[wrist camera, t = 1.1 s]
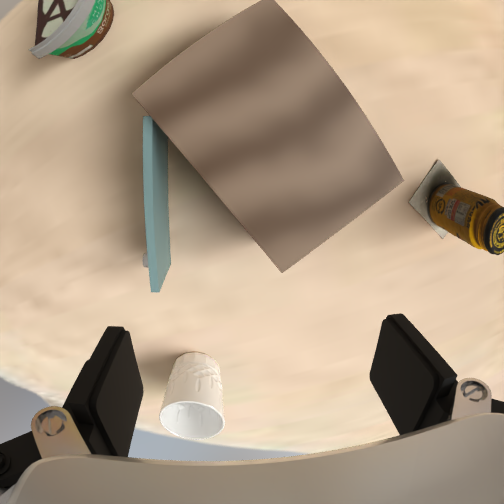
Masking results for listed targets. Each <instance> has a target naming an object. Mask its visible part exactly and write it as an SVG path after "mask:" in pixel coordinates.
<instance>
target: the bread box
mask: <svg viewBox="0 0 504 504" xmlns="http://www.w3.org/2000/svg"><path fill="white" fill-rule="evenodd" d="M132 95H133V96H134V97H135V99H136V100H137V101H138V102H139V103H140V104H141V106H142V107H143V108H144V109H145V110H146V111H147V113H148V114H149V115H150V116H151V117H152V118H153V120H154V121H155V122H156V123H157V124H158V126H159V127H160V128H161V129H162V130H163V131H164V133H165V134H166V135H167V136H168V137H169V139H170V140H171V141H172V142H173V143H174V144H175V146H176V147H177V148H178V149H179V150H180V152H181V153H182V154H183V155H184V156H185V157H186V159H187V160H188V161H189V162H190V163H191V165H192V166H193V167H194V168H195V169H196V171H197V172H198V173H199V174H200V175H201V177H202V178H203V179H204V180H205V181H206V182H207V184H208V185H209V186H210V187H211V188H212V190H213V191H214V192H215V193H216V194H217V196H218V197H219V198H220V199H221V200H222V202H223V203H224V204H225V205H226V206H227V208H228V209H229V210H230V211H231V212H232V214H233V215H234V216H235V217H236V218H237V220H238V221H239V222H240V223H241V224H242V226H243V227H244V228H245V229H246V230H247V232H248V233H249V234H250V235H251V236H252V238H253V239H254V240H255V241H256V242H257V244H258V245H259V246H260V247H261V249H262V250H263V251H264V252H265V253H266V255H267V256H268V257H269V258H270V259H271V261H272V262H273V263H274V264H275V265H276V267H277V268H278V269H279V270H280V272H281V273H283V272H284V271H286V270H287V269H288V268H290V267H291V266H292V265H294V264H295V263H296V262H298V261H299V260H301V259H302V258H303V257H305V256H306V255H307V254H309V253H310V252H311V251H313V250H314V249H315V248H317V247H318V246H319V245H321V244H322V243H323V242H325V241H326V240H327V239H329V238H330V237H331V236H333V235H334V234H335V233H337V232H338V231H339V230H341V229H342V228H343V227H345V226H346V225H347V224H349V223H350V222H351V221H353V220H354V219H355V218H357V217H358V216H359V215H360V214H362V213H363V212H364V211H366V210H367V209H368V208H370V207H371V206H372V205H373V204H375V203H376V202H377V201H379V200H380V199H381V198H382V197H384V196H385V195H386V194H388V193H389V192H390V191H391V190H393V189H394V188H395V187H396V186H398V185H399V184H400V183H402V182H403V181H404V180H403V178H402V176H401V174H400V172H399V171H398V169H397V167H396V165H395V163H394V162H393V160H392V158H391V156H390V155H389V153H388V151H387V149H386V148H385V146H384V144H383V143H382V141H381V139H380V138H379V136H378V134H377V133H376V131H375V130H374V128H373V126H372V125H371V123H370V122H369V120H368V119H367V117H366V115H365V114H364V112H363V111H362V109H361V108H360V106H359V105H358V103H357V102H356V101H355V99H354V98H353V96H352V95H351V93H350V92H349V90H348V89H347V88H346V86H345V85H344V83H343V82H342V81H341V79H340V78H339V77H338V75H337V74H336V73H335V71H334V70H333V69H332V67H331V66H330V65H329V63H328V62H327V61H326V59H325V58H324V57H323V56H322V54H321V53H320V52H319V51H318V49H317V48H316V47H315V46H314V44H313V43H312V42H311V41H310V40H309V38H308V37H307V36H306V35H305V34H304V33H303V31H302V30H301V29H300V28H299V27H298V26H297V24H296V23H295V22H294V21H293V20H292V19H291V18H290V17H289V16H288V14H287V13H286V12H285V11H284V10H283V9H282V8H281V7H280V6H279V5H278V4H277V3H276V2H275V1H274V0H261V1H259V2H257V3H256V4H254V5H252V6H250V7H249V8H247V9H245V10H244V11H242V12H240V13H239V14H237V15H235V16H234V17H232V18H231V19H229V20H227V21H226V22H224V23H223V24H221V25H220V26H218V27H217V28H215V29H214V30H212V31H211V32H209V33H208V34H206V35H205V36H203V37H202V38H201V39H199V40H198V41H196V42H195V43H193V44H192V45H191V46H189V47H188V48H187V49H185V50H184V51H183V52H181V53H180V54H179V55H177V56H176V57H175V58H173V59H172V60H171V61H170V62H168V63H167V64H166V65H165V66H163V67H162V68H161V69H160V70H158V71H157V72H156V73H155V74H154V75H152V76H151V77H150V78H149V79H148V80H147V81H145V82H144V83H143V84H142V85H141V86H140V87H139V88H137V89H136V90H135V91H134V92H133V93H132Z"/></svg>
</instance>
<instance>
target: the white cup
mask: <svg viewBox="0 0 504 504" xmlns="http://www.w3.org/2000/svg"><path fill="white" fill-rule="evenodd" d="M159 418H160V422H161V424H162V425H163V427H164V428H165V429H166V430H168V431H169V432H171V433H172V434H174V435H176V436H179V437H182V438H186V439H195V440H199V439H207V438H211V437H213V436H215V435H217V434H219V433H220V432H221V431H222V430H223V428H224V425H225V420H224V406H223V392H222V383H221V379H220V367H219V365H218V364H217V362H216V361H215V359H213V358H212V357H210V356H208V355H207V354H203V353H198V352H192V353H185V354H183V355H182V356H180V357H178V358H177V359H176V361H175V363H174V365H173V368H172V372H171V374H170V377H169V381H168V384H167V387H166V391H165V395H164V399H163V403H162V407H161V411H160V415H159Z"/></svg>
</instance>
